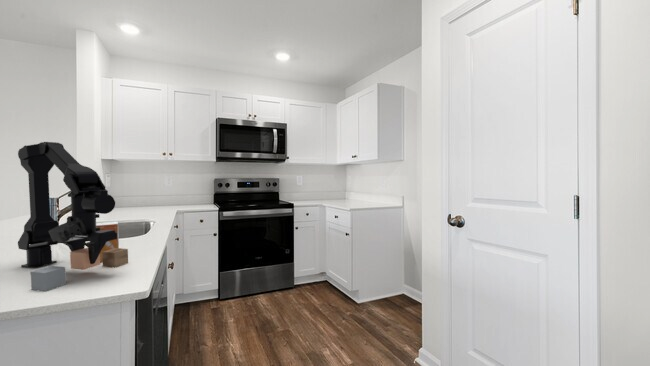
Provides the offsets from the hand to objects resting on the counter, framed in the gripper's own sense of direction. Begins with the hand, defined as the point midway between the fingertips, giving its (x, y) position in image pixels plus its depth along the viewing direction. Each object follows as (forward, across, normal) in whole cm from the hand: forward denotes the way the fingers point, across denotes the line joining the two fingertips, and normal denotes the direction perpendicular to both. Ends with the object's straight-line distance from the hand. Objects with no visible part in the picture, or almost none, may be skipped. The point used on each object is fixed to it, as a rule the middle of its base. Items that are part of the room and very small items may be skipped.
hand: (85, 263), depth 92 cm
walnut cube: (+4, 0, +10) cm, 11 cm away
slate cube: (+4, 0, -10) cm, 11 cm away
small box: (+4, -9, +14) cm, 17 cm away
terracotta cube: (+1, 0, 0) cm, 1 cm away
